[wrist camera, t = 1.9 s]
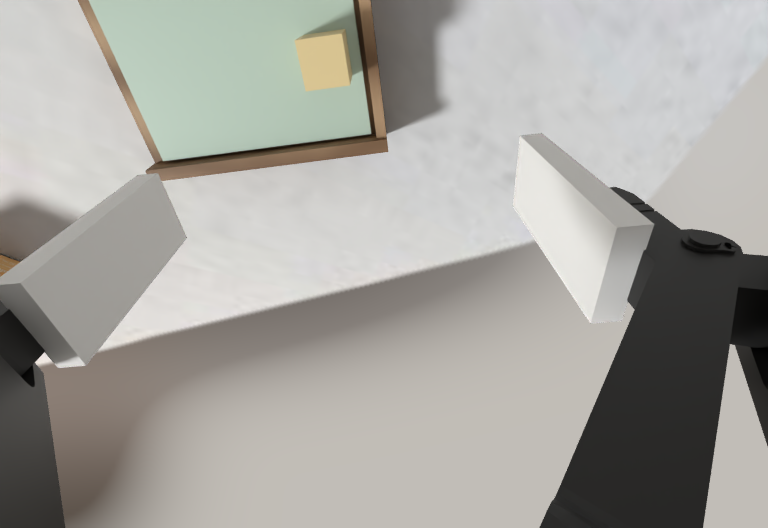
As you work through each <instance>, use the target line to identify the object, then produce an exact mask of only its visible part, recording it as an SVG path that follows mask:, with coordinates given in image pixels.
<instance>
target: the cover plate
mask: <svg viewBox="0 0 768 528" xmlns="http://www.w3.org/2000/svg"><path fill="white" fill-rule="evenodd" d="M89 2H90V5H91V7H92V9H93V11H94V13H95V15H96V17H97V20H98V22H99V24H100V26H101V28H102V30H103V33H104V35H105V37H106V39H107V41H108V43H109V46H110V48H111V50H112V52H113V54H114V56H115V58H116V61H117V63H118V65H119V67H120V69H121V71H122V74H123V76H124V78H125V80H126V82H127V84H128V87H129V89H130V91H131V93H132V95H133V97H134V100H135V102H136V104H137V106H138V108H139V110H140V112H141V115H142V117H143V119H144V121H145V123H146V125H147V128H148V130H149V132H150V134H151V136H152V138H153V141H154V143H155V145H156V147H157V149H158V151H159V153H160V156H161V158H162V160H163V161H170V160H177V159H185V158H192V157H200V156H208V155H215V154H223V153H230V152H238V151H246V150H253V149H261V148H269V147H276V146H284V145H291V144H299V143H307V142H314V141H322V140H329V139H337V138H345V137H352V136H360V135H367V134H371V125H370V118H369V110H368V103H367V96H366V89H365V82H364V74H363V67H362V60H361V53H360V45H359V38H358V31H357V24H356V16H355V9H354V2H353V0H89Z"/></svg>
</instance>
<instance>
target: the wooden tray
mask: <svg viewBox="0 0 768 528" xmlns="http://www.w3.org/2000/svg"><path fill="white" fill-rule="evenodd" d="M78 2H79V4H80V6H81V8H82V10H83V12H84V15H85V17H86V19H87V21H88V23H89V25H90V27H91V29H92V31H93V33H94V36H95V38H96V40H97V42H98V44H99V46H100V48H101V50H102V52H103V54H104V57H105V59H106V61H107V63H108V65H109V67H110V69H111V71H112V73H113V75H114V77H115V80H116V82H117V84H118V86H119V88H120V90H121V92H122V94H123V96H124V98H125V101H126V103H127V105H128V107H129V109H130V111H131V113H132V115H133V117H134V119H135V122H136V124H137V126H138V128H139V130H140V132H141V134H142V136H143V138H144V140H145V143H146V145H147V147H148V149H149V151H150V153H151V155H152V157H153V159H154V161H155V164H154V165H152V166H151V167H150V168H149V169H147V170H146V173H147V174H154V173H158V174H159V177H160V179H161V181H165V180H173V179H181V178H189V177H196V176H204V175H212V174H220V173H227V172H235V171H243V170H251V169H259V168H266V167H274V166H282V165H290V164H297V163H305V162H313V161H321V160H328V159H336V158H344V157H352V156H359V155H367V154H375V153H383V152H388V145H387V136H386V127H385V119H384V110H383V101H382V93H381V84H380V76H379V67H378V59H377V50H376V42H375V33H374V24H373V16H372V7H371V0H353V2H354V9H355V16H356V24H357V31H358V38H359V45H360V53H361V60H362V67H363V74H364V82H365V89H366V96H367V103H368V110H369V118H370V125H371V134H367V135H360V136H352V137H345V138H337V139H329V140H322V141H314V142H307V143H299V144H291V145H284V146H276V147H269V148H261V149H253V150H246V151H238V152H230V153H223V154H215V155H208V156H200V157H192V158H185V159H177V160H170V161H163V160H162V158H161V156H160V153H159V151H158V149H157V147H156V145H155V143H154V141H153V138H152V136H151V134H150V132H149V130H148V128H147V125H146V123H145V121H144V119H143V117H142V115H141V112H140V110H139V108H138V106H137V104H136V102H135V100H134V97H133V95H132V93H131V91H130V89H129V87H128V84H127V82H126V80H125V78H124V76H123V74H122V71H121V69H120V67H119V65H118V63H117V61H116V58H115V56H114V54H113V52H112V50H111V48H110V46H109V43H108V41H107V39H106V37H105V35H104V33H103V30H102V28H101V26H100V24H99V22H98V20H97V17H96V15H95V13H94V11H93V9H92V7H91V5H90V2H89V0H78Z"/></svg>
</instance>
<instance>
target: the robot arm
mask: <svg viewBox="0 0 768 528" xmlns="http://www.w3.org/2000/svg"><path fill="white" fill-rule="evenodd" d="M513 207H514V209H515V210H516V212H517V213H518V215H519V216H520V218H521V219H522V221H523V222H524V224H525V225H526V227H527V228H528V230H529V231H530V233H531V234H532V236H533V238H534V239H535V241H536V242H537V244H538V245H539V246H540V248H541V250H542V251H543V253H544V254H545V256H546V257H547V259H548V260H549V262H550V263H551V265H552V266H553V268H554V269H555V271H556V272H557V274H558V275H559V277H560V278H561V280H562V281H563V283H564V284H565V286H566V287H567V289H568V290H569V292H570V293H571V295H572V296H573V298H574V299H575V301H576V302H577V304H578V305H579V307H580V308H581V310H582V312H583V313H584V314H585V316H586V318H587V319H588V321H589V322H590V323H591V324H592V323H602V322H603V323H604V322H615V321H622V318H623V316H624V313H625V309H626V307H627V303H628V302H629V303H630V304H631V306H632V307H633V308H634V309H635V311H634V313H633V315H632V318H631V320H630V322H629V325H628V327H627V329H626V332H625V334H624V337H623V339H622V341H621V344H620V346H619V349H618V351H617V353H616V355H615V358H614V360H613V362H612V365H611V368H610V370H609V372H608V375H607V377H606V379H605V382H604V384H603V386H602V388H601V391H600V393H599V396H598V398H597V400H596V403H595V405H594V407H593V410H592V412H591V414H590V417H589V419H588V422H587V424H586V426H585V429H584V431H583V433H582V436H581V438H580V440H579V443H578V445H577V448H576V450H575V452H574V454H573V457H572V459H571V462H570V464H569V467H568V469H567V471H566V473H565V476H564V478H563V480H562V483H561V485H560V488H559V490H558V492H557V494H556V497H555V498H554V500H553V501H552V502H551V504H550V506H549V508H548V510H547V512H546V515H545V517H544V519H543V521H542V523H541V526H540V528H703V523H704V516H705V509H706V503H707V496H708V489H709V482H710V475H711V469H712V462H713V455H714V448H715V441H716V434H717V427H718V421H719V414H720V407H721V400H722V393H723V386H724V380H725V373H726V366H727V359H728V353H729V346H730V344H733V345H735V346H736V350H737V353H738V356H739V359H740V362H741V365H742V368H743V371H744V374H745V378H746V381H747V384H748V387H749V390H750V393H751V396H752V399H753V402H754V405H755V408H756V411H757V415H758V417H759V421H760V424H761V427H762V430H763V433H764V436H765V439H766V442H767V446H768V256H761V255H749V254H743V252H742V249H741V247H740V246H739V245H737V244H736V243H735V242H734V241H732V240H730V239H728V238H726V237H724V236H722V235H719V234H715V233H712V232H707V231H702V230H693V229H687V230H681V229H679V228H678V227H677V226H675V225H674V224H673V223H671V222H670V221H669V220H668V219H666V218H665V217H664V216H662V215H661V214H660V213H658V212H657V211H654V209H653V208H652V207H650V206H649V205H648V204H645V202H644V201H642V200H641V199H640V198H638V197H637V196H636V195H634V194H633V193H630V192H628V191H625V190H623V189H620V188H617V187H612V188H609V187H608V186H607V185H605V184H604V183H603V182H602V181H600V180H599V179H598V178H597V177H595V176H594V175H593V174H592V173H590V172H589V171H588V170H587V169H586V168H584V167H583V166H582V165H581V164H579V163H578V162H577V161H576V160H574V159H573V158H572V157H571V156H569V155H568V154H567V153H566V152H564V151H563V150H562V149H561V148H559V147H558V146H557V145H556V144H555V143H553V142H552V141H551V140H550V139H548V138H547V137H546V136H545V135H543V134H542V133H541V134H531V135H521V136H520V140H519V150H518V161H517V171H516V181H515V191H514V201H513ZM186 238H187V237H186V235H185V232H184V230H183V228H182V226H181V223H180V221H179V219H178V217H177V214H176V212H175V210H174V208H173V206H172V203H171V201H170V199H169V197H168V194H167V192H166V190H165V188H164V186H163V183H162V181H161V179H160V177H159V174H158V173H154V174H144V175H137V176H136V177H134V178H133V179H132V180H130V181H129V182H128V183H126V184H125V185H124V186H122V187H121V188H120V189H118V190H117V191H116V192H114V193H113V194H112V195H110V196H109V197H107V198H106V199H105V200H103V201H102V202H101V203H99V204H98V205H97V206H95V207H94V208H93V209H91V210H90V211H89V212H87V213H86V214H85V215H83V216H82V217H80V218H79V219H78V220H76V221H75V222H74V223H72V224H71V225H70V226H68V227H67V228H66V229H64V230H63V231H62V232H60V233H59V234H57V235H56V236H55V237H53V238H52V239H51V240H49V241H48V242H47V243H45V244H44V245H43V246H41V247H40V248H39V249H37V250H36V251H35V252H33V253H32V254H30V255H29V256H28V257H26V258H25V259H24V260H22V261H21V262H20V263H18V264H17V265H16V266H14V267H13V268H12V269H10V270H9V271H8V272H6V273H5V274H3V275H2V276H1V277H0V528H65V523H64V516H63V508H62V501H61V495H60V487H59V480H58V473H57V466H56V459H55V452H54V445H53V438H52V431H51V424H50V417H49V410H48V402H47V395H46V389H45V382H44V375H43V372H42V371H41V369H40V368H39V367H38V366H37V365H36V364H35V361H36V360H37V359H38V358H39V357H40V356H41V355H42V354H43V353H44V352H45V353H46V354H47V355H48V357H49V358H50V359H51V360H52V361H53V362H54V364H55V365H56V366H57V367H58V368H62V367H74V366H86V365H87V364H88V362H89V361H90V360H91V359H92V357H93V356H94V355H95V354H96V352H97V351H98V350H99V348H100V347H101V346H102V345H103V343H104V342H105V341H106V340H107V338H108V337H109V336H110V335H111V333H112V332H113V331H114V329H115V328H116V327H117V326H118V324H119V323H120V322H121V321H122V319H123V318H124V317H125V316H126V314H127V313H128V312H129V310H130V309H131V308H132V307H133V305H134V304H135V303H136V302H137V300H138V299H139V298H140V297H141V295H142V294H143V293H144V291H145V290H146V289H147V288H148V286H149V285H150V284H151V283H152V281H153V280H154V279H155V278H156V276H157V275H158V274H159V273H160V271H161V270H162V269H163V267H164V266H165V265H166V264H167V262H168V261H169V260H170V259H171V257H172V256H173V255H174V254H175V252H176V251H177V250H178V248H179V247H180V246H181V245H182V243H183V242H184V241H185V240H186Z"/></svg>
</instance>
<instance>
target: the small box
mask: <svg viewBox="0 0 768 528" xmlns="http://www.w3.org/2000/svg"><path fill="white" fill-rule="evenodd" d="M18 263H20V262H19V261H16V260H13V259H11V258H8V257H5V256H3V255H0V277H1V276H2V275H3V274H5V273H6V272H8V271H9V270H10V269H12V268H13V267H14V266H16V265H17V264H18Z"/></svg>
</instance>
